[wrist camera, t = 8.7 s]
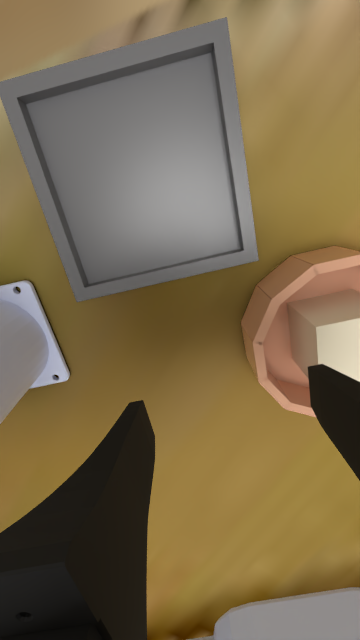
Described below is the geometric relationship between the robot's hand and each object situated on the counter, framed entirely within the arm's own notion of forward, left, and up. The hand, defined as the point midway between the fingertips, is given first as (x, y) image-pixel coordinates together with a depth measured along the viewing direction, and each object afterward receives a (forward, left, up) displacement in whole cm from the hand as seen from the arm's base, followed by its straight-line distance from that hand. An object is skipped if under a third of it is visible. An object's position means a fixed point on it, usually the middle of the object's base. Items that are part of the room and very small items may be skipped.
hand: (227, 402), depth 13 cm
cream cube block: (+8, -2, -9) cm, 12 cm away
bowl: (+8, -2, -9) cm, 13 cm away
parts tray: (-2, +10, -9) cm, 14 cm away
